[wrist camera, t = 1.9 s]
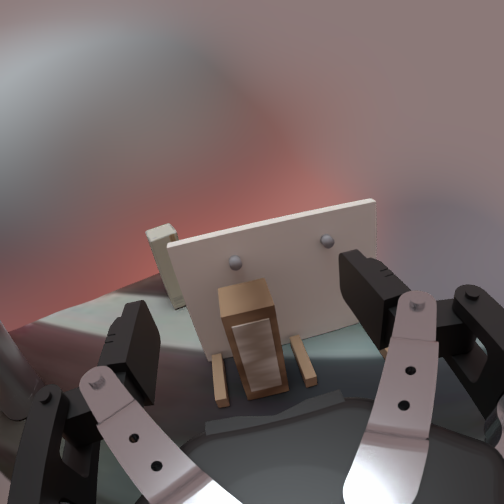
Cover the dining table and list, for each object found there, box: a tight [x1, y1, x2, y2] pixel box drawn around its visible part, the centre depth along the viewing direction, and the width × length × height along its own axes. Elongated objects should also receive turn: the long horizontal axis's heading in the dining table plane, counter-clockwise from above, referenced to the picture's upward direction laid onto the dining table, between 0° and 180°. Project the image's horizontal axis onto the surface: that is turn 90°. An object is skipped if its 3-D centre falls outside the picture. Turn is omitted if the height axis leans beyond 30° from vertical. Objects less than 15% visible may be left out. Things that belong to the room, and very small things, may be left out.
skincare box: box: [146, 223, 186, 309], centre depth 48 cm, size 6×4×12 cm
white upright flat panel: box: [167, 199, 388, 408], centre depth 30 cm, size 22×9×16 cm, turn 99°
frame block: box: [218, 278, 289, 400], centre depth 29 cm, size 4×5×12 cm
